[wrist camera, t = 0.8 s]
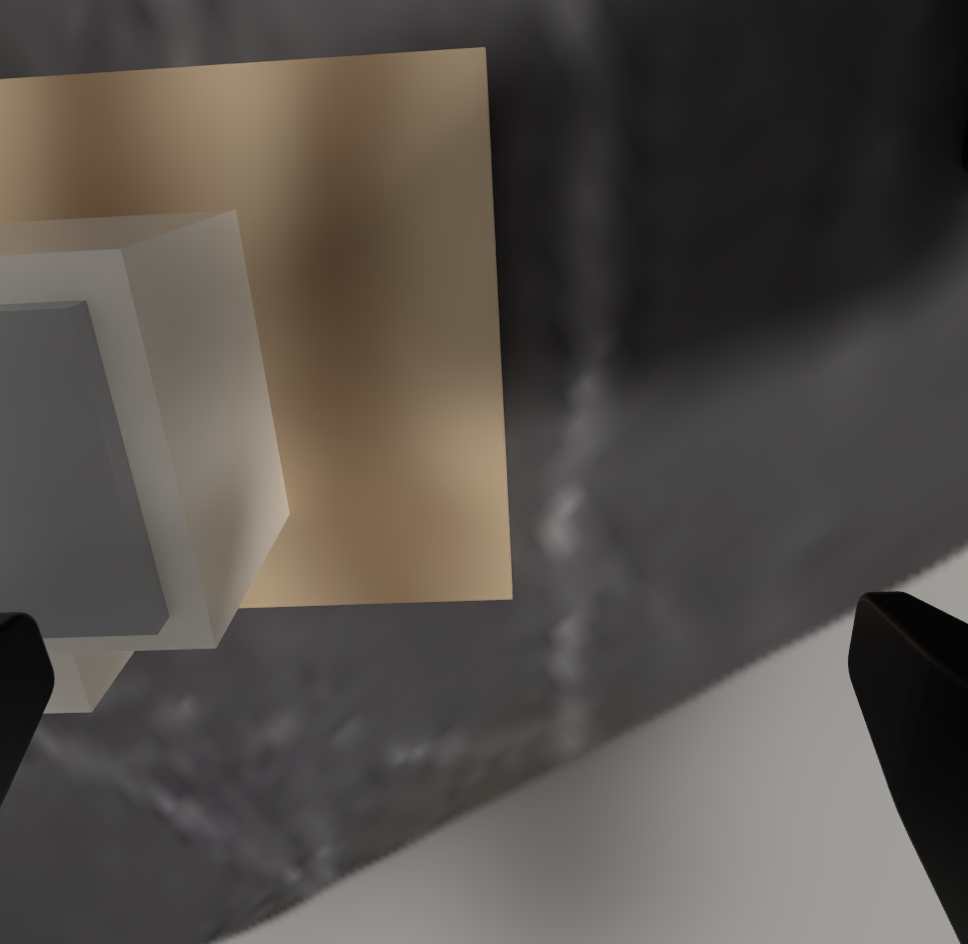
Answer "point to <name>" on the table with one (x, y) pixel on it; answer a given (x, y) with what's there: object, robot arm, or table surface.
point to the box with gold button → (130, 439)
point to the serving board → (324, 288)
